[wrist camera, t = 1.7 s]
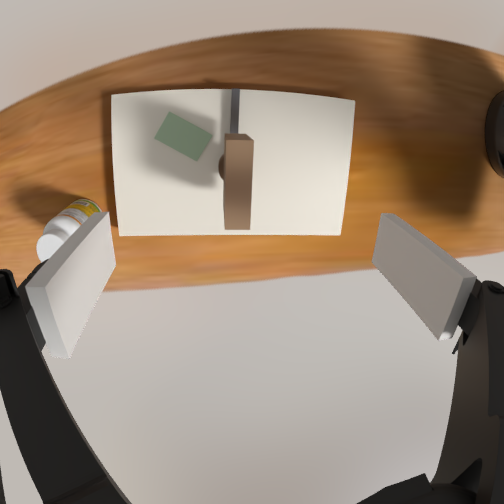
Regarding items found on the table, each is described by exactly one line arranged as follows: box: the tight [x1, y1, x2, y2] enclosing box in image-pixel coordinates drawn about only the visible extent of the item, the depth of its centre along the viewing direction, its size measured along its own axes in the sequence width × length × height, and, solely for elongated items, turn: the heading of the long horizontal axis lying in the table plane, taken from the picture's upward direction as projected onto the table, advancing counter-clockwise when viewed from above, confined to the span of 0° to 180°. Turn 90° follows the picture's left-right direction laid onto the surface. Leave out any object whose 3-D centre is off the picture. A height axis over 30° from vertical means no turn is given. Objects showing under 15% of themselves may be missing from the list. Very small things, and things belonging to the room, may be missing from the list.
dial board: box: [111, 89, 355, 236], centre depth 33 cm, size 26×16×2 cm, turn 88°
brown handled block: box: [218, 89, 254, 230], centre depth 27 cm, size 12×3×10 cm, turn 178°
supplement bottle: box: [36, 199, 102, 262], centre depth 31 cm, size 5×5×10 cm
